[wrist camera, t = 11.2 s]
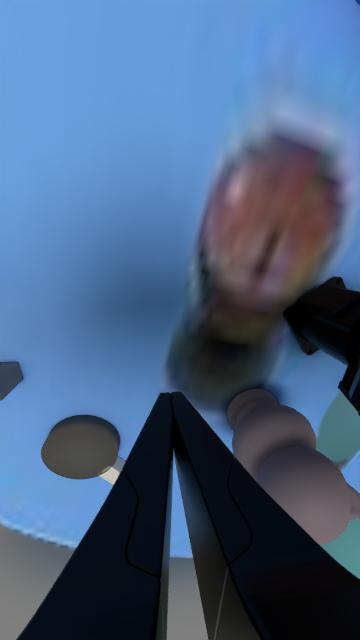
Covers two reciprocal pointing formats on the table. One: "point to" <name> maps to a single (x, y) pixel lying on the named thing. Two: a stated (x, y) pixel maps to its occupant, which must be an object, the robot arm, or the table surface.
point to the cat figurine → (291, 464)
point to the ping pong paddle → (83, 449)
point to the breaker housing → (9, 377)
